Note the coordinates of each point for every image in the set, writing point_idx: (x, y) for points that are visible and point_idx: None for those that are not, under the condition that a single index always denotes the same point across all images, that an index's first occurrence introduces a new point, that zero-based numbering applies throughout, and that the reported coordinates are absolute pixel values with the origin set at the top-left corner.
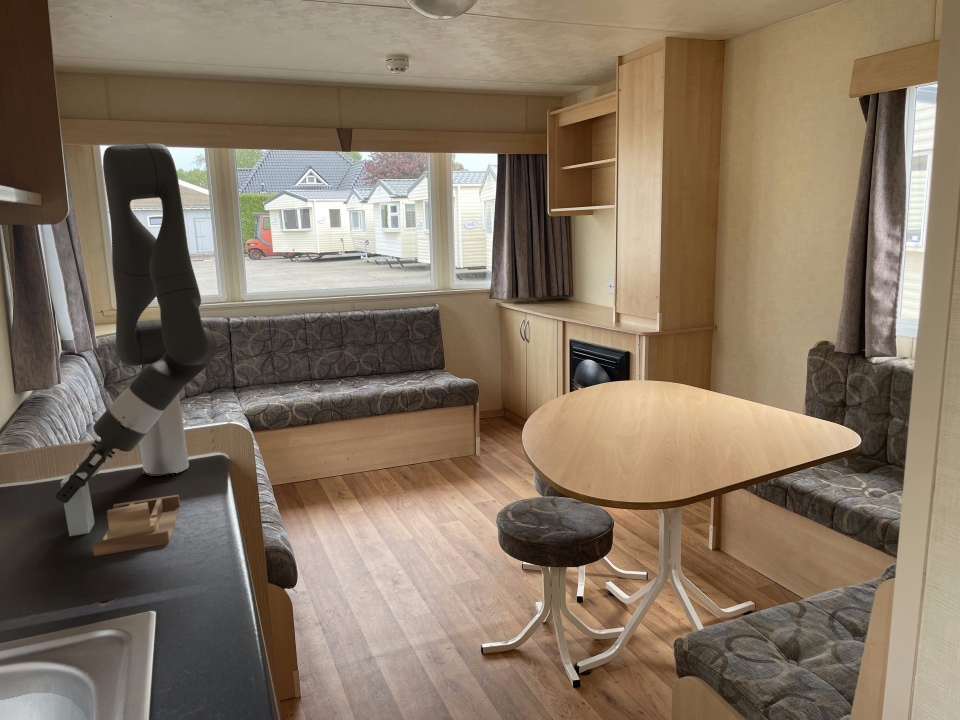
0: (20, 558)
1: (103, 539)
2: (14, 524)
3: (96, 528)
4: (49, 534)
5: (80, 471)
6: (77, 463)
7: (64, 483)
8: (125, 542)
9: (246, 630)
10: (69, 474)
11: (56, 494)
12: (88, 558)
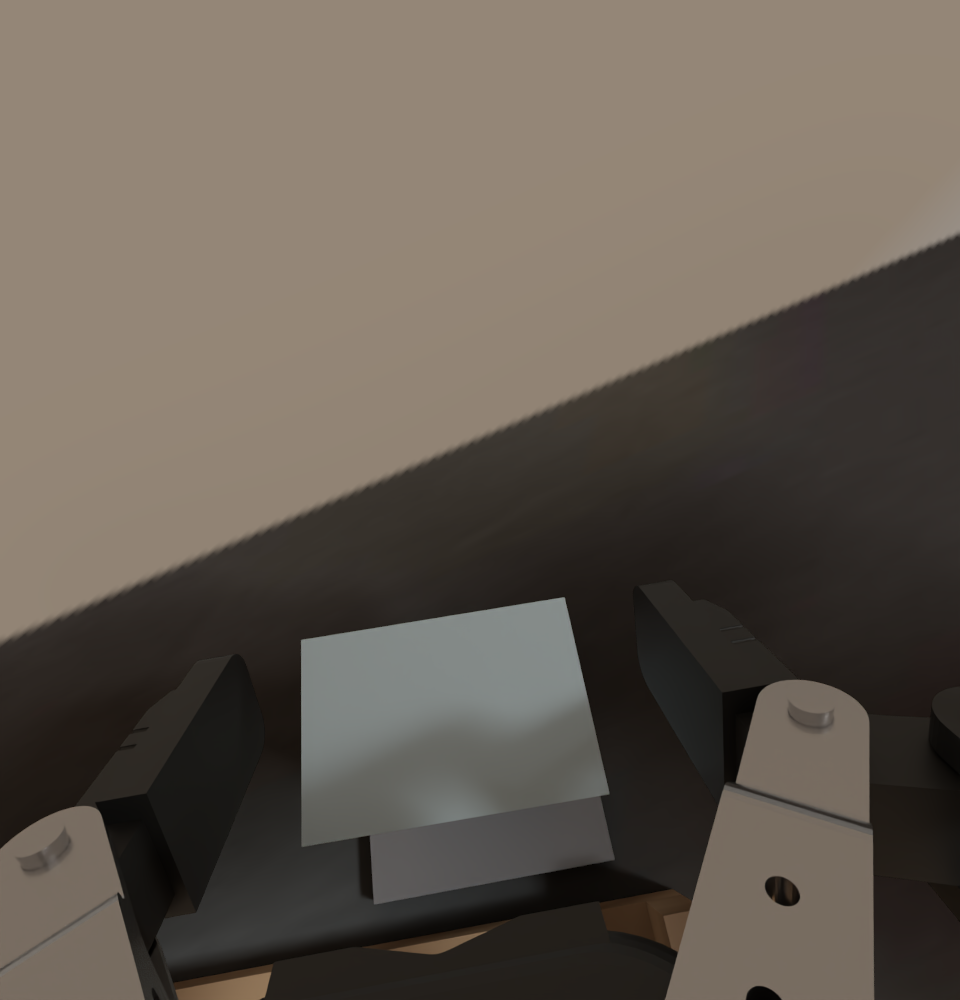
0: (287, 558)
1: (262, 978)
2: (680, 371)
3: None
4: (531, 565)
5: (686, 686)
6: (101, 926)
7: (303, 680)
8: None
9: None
10: (565, 619)
11: (192, 669)
12: None
